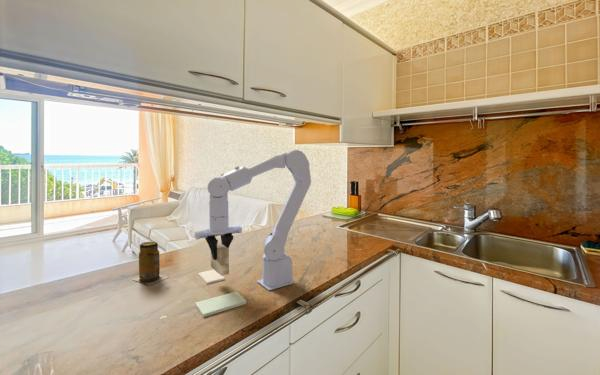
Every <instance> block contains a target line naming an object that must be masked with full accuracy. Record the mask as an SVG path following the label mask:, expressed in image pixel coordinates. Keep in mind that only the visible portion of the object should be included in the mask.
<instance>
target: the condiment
mask: <svg viewBox="0 0 600 375" xmlns="http://www.w3.org/2000/svg"><path fill="white" fill-rule="evenodd" d="M158 245H159V244H158V241H157V242H156V241H145V242H142V243H140V244H139V252H138V273H139V274H138V276H139V277H136V278H133V279H132V281H135V282H138V283H141V284H144V285H147V286H150V285H153V284H156V283H159V282H162V281H163V280H166V279H168V278H169V276H167V275H164V274H160V272H161V271H160V269H161V268H160V250H159V246H158Z"/></svg>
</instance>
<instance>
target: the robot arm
mask: <svg viewBox="0 0 600 375" xmlns="http://www.w3.org/2000/svg"><path fill="white" fill-rule="evenodd" d="M286 168H287V169H288V171H289V172H290V173H291V176H292V178H293V180H294V184H293V186H292V188H291V191H290V193H289V194H288V197H287V199H286V201H285V202H284V203H285V204H284V205H283V208H282V209H281V210H282V211H281V212H280V215H279V217H278V218H277V220H276V224H275V225H274V227H273V228H272V229H271V232H270V233H269V234H268V235H266V237H264V241H263V245H264V248H263V254H262V278H261V279H258V280H257V283H258V284H260V285H261V286H262V287H264V288H265V289H266V290H268V291H273V290H275V289H276V290H277V289H279V288H282V287H286V286H289V285H292V284H294V281H293V268H294V267H293V260H292V258H291V256H290V255H289V254H287V253H286V254H285V244H286V242H287V239H288V235H289V232H290V230H291V227H292V226H293V224H294V221H295V219H296V217H297V215H298V212H299V210H300V208H301V206H302V204H303V202H304V199H305V197H306V195H307V193H308V191H309V189H310V186H311V184H312V178H311V171H310V170H311V169H310V161H309V159H308V158H307V156H306V154H305V152H303V151H302V150H299V149H293V150H291V151H289V152H284V153H281V154H276V155H274V156H272V157H269V158H267V159H266V160H264V161H261V162H259V163H257V164H255V165H252V166H251V167H245V166H243V165H242V166H236V167H234V170H231V171H228V172H226V173H224V172H223V173H221V174H220V176H219V177H214V178H212V179H211V180H210V181H209V182H208V183H207V184H208V185H207V191H208V193H209V201H208V203H209V205H208V206H209V209H208V210H209V213H208V214H209V228H208V229H204V230H199V231H194V239H195V240H200V239H204V240H205V241H206V243H207V245H208V247H209V249H210V254H211V253H212V258H213V259H214V260H217V243H218V242H219V241H218V239H217V237H219V236H220V240H221V242H220V243H221V244H222V245H224V246H225V247H227V248H228V249H229V248H230V246H231V243H232V242H233V240H234V235H233V234H242V233H243V230H242V229H243V228H242V227H241V226H239V225H238V226H229V198H228V197H229V195H228V194H229V193H228V192H229V191H231V192H234V191H235V190H237V189H240V188H242V187H244V186H246V185H249V184H251V182H252V180H253V178H254V177H257V176H259V175H261V174H264V173H267V172H268V171H271V170H273V169H286Z"/></svg>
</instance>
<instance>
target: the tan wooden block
mask: <svg viewBox="0 0 600 375" xmlns="http://www.w3.org/2000/svg"><path fill="white" fill-rule="evenodd" d="M210 268H212V270H213V269H214V270H215V271H216V272H217V273H218V274H220V275H221V276H223V277H224V276H227V275H229V274H230V250H229V249H228V248H227V247H225V246H224V245H222V242H219V241H218V243H217V260H214V259H213V258H212V253H211V252H210Z"/></svg>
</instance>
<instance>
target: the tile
mask: <svg viewBox="0 0 600 375" xmlns="http://www.w3.org/2000/svg"><path fill="white" fill-rule="evenodd" d="M197 275H198V276H199V278H200V279H201V280H202V281H203V282H204V283H205V284H206V285H208V284H212V283H217V282H220V281H224V280H225V279H226V278H225V277H224V275H223V276H221V275H220V274H218V273H217V272H216V271H215V270H214V269H213V268H212V269H210V270H206V271H202V272H198V274H197Z"/></svg>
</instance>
